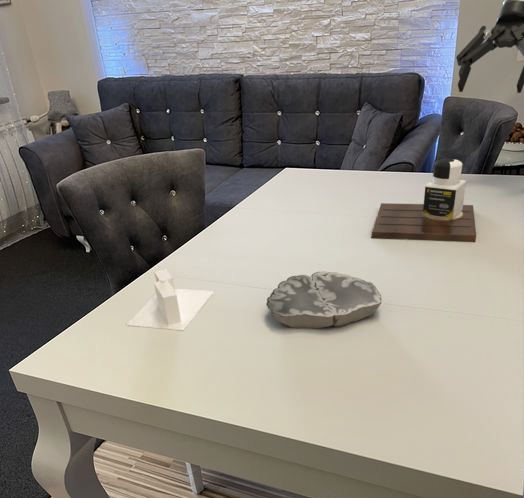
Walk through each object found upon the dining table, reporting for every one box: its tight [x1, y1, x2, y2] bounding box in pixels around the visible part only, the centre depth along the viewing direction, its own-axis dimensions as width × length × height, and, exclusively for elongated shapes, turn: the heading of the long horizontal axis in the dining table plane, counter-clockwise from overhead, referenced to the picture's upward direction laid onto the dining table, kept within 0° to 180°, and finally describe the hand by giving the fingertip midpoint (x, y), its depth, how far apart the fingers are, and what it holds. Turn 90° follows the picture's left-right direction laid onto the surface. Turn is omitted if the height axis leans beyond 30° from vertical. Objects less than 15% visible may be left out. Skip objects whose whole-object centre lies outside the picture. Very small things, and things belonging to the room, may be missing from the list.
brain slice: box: [265, 271, 382, 329], centre depth 94 cm, size 20×17×3 cm
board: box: [370, 202, 477, 243], centre depth 125 cm, size 22×20×2 cm
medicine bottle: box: [423, 158, 467, 219], centre depth 122 cm, size 7×7×12 cm
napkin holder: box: [126, 268, 215, 331], centre depth 97 cm, size 15×11×6 cm
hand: (488, 88), depth 127 cm, fingers open, 13 cm apart
